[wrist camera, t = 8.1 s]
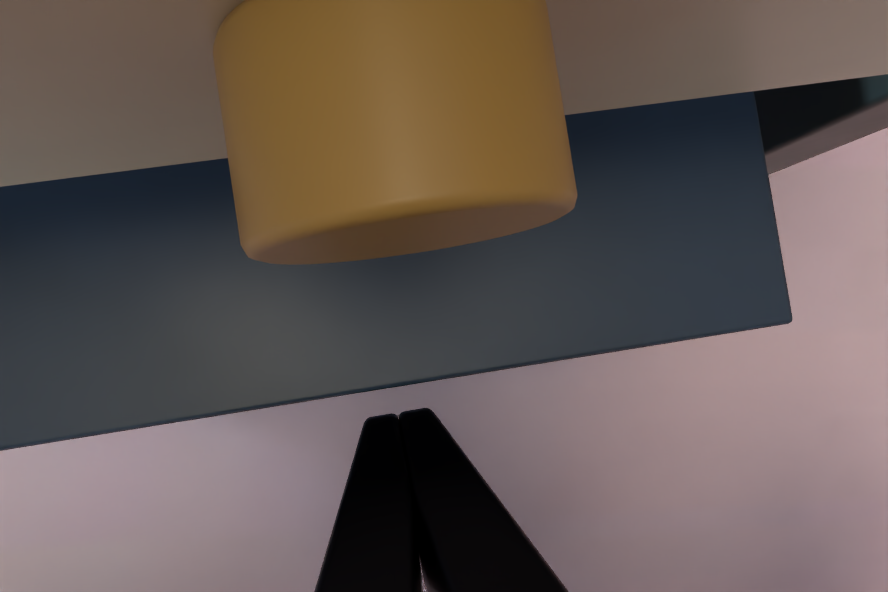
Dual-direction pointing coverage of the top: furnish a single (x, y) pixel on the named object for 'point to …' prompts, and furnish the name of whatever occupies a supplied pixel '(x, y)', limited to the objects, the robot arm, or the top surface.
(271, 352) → the storage box
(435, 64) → the drawer unit
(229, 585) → the top surface
